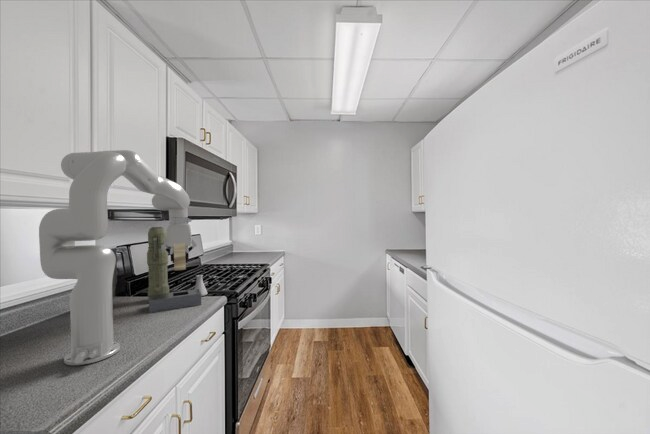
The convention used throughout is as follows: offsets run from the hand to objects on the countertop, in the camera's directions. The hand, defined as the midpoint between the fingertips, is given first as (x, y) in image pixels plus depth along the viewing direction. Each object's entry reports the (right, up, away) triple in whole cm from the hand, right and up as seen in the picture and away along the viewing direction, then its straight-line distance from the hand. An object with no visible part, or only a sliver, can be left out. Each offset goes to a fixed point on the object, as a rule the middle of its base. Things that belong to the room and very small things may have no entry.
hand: (179, 261), depth 130 cm
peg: (0, -3, 0) cm, 3 cm away
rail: (-1, -19, -1) cm, 20 cm away
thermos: (-15, -20, +9) cm, 26 cm away
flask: (+2, -20, +16) cm, 25 cm away
